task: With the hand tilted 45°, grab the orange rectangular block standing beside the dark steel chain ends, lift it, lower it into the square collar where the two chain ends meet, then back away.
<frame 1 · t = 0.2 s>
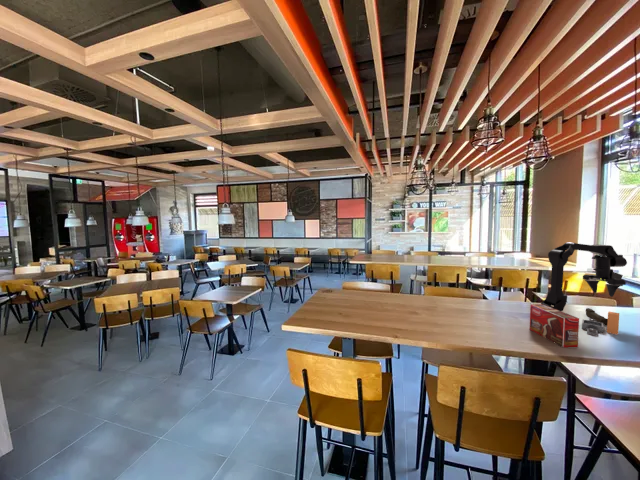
hand: (603, 294, 149), 14 cm above the table, tool pointing down, fingers open, 9 cm apart
hand tool: (594, 320, 150), on the table
ice cream box: (551, 338, 127), on the table
orange rectangular block: (612, 332, 132), on the table
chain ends: (592, 328, 137), on the table
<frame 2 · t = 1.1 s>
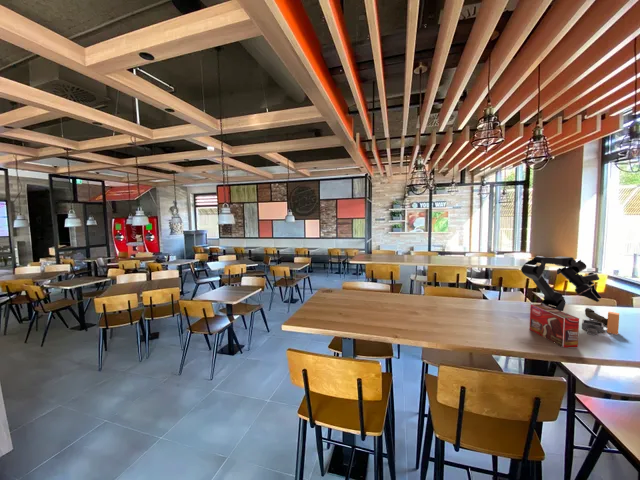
hand: (599, 299, 142), 13 cm above the table, tool tilted 45°, fingers open, 9 cm apart
nothing on the table moved.
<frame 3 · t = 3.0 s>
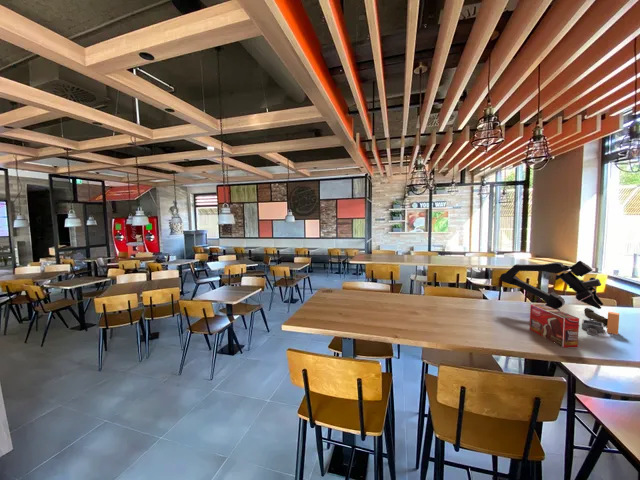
hand: (601, 306, 135), 12 cm above the table, tool tilted 45°, fingers open, 9 cm apart
nothing on the table moved.
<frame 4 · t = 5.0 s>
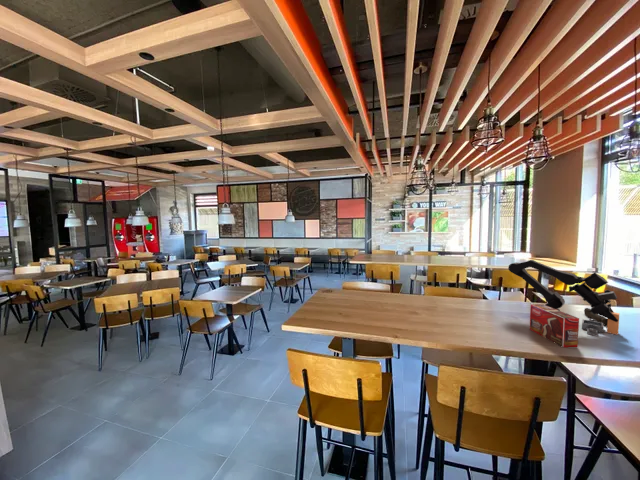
hand: (617, 320, 131), 7 cm above the table, tool tilted 45°, fingers closed on orange rectangular block, 4 cm apart
orange rectangular block: (612, 332, 132), on the table, touching gripper
everything else where it was.
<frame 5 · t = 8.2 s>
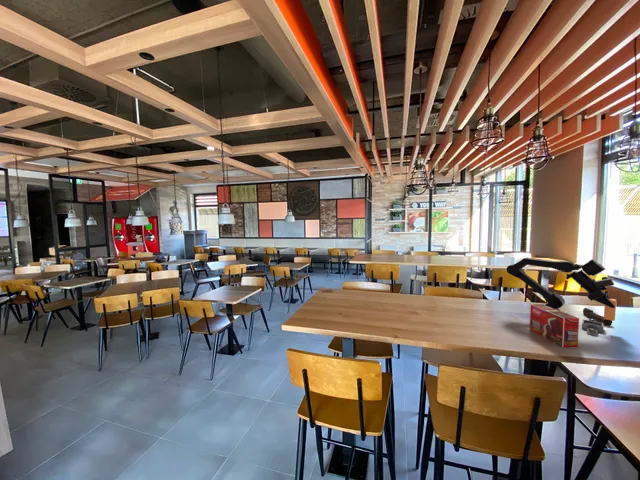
hand: (614, 306, 131), 13 cm above the table, tool tilted 45°, fingers closed on orange rectangular block, 4 cm apart
orange rectangular block: (609, 318, 133), point 7 cm above the table, touching gripper
everything else where it was.
when the fingers open (8 cm above the table, at t = 11.6 s): orange rectangular block drops 1 cm, resting in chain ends.
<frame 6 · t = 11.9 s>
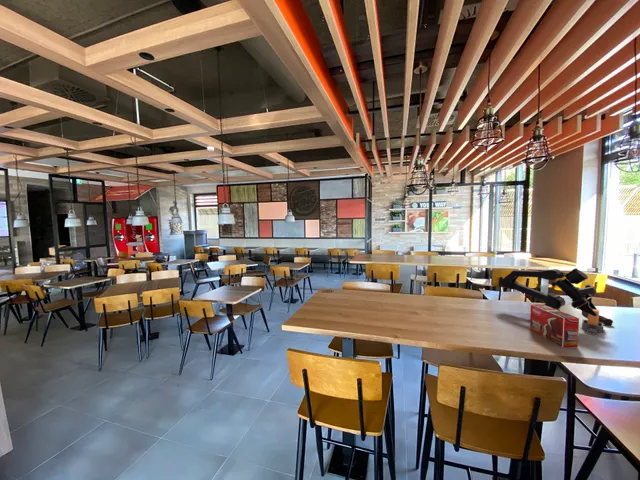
hand: (597, 314, 136), 8 cm above the table, tool tilted 45°, fingers open, 7 cm apart
orange rectangular block: (592, 328, 137), resting in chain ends
everything else where it was.
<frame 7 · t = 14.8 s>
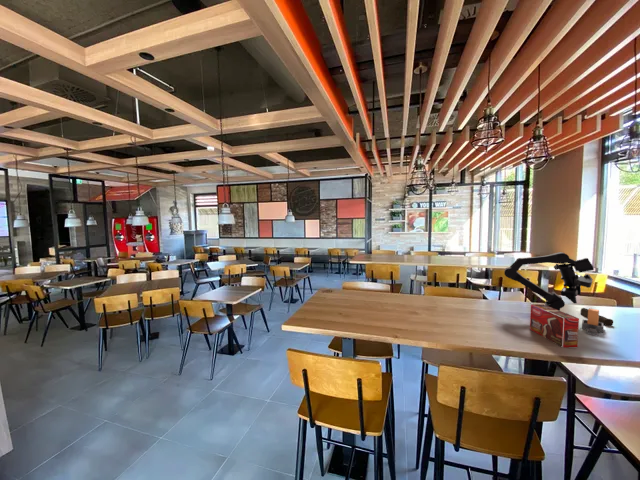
hand: (577, 298, 148), 13 cm above the table, tool tilted 25°, fingers open, 9 cm apart
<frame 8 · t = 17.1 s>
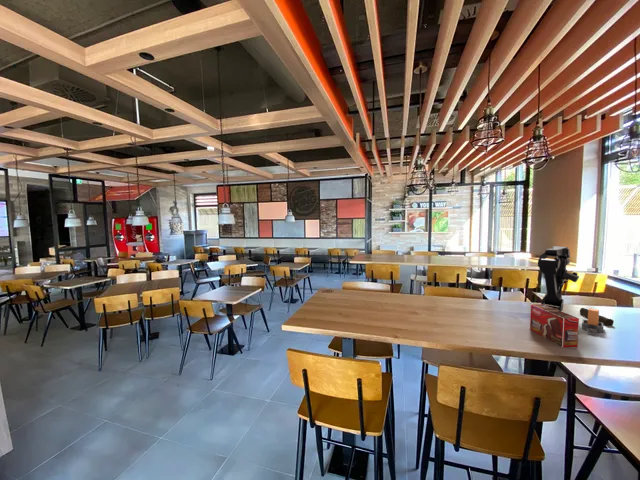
hand: (558, 293, 158), 13 cm above the table, tool pointing down, fingers open, 9 cm apart
at the end: orange rectangular block 0.1 cm off-centre on the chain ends, point 0.0 cm above the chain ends's base; orange rectangular block tilted 0°; the gripper is holding nothing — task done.
